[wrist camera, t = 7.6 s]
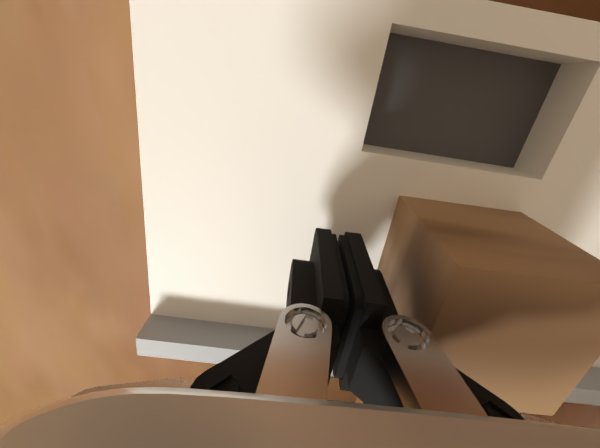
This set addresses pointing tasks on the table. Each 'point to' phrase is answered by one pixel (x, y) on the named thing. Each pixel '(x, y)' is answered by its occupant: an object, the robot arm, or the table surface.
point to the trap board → (344, 141)
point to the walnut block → (497, 297)
